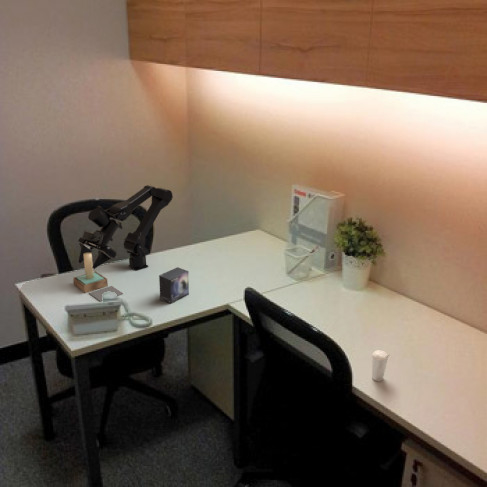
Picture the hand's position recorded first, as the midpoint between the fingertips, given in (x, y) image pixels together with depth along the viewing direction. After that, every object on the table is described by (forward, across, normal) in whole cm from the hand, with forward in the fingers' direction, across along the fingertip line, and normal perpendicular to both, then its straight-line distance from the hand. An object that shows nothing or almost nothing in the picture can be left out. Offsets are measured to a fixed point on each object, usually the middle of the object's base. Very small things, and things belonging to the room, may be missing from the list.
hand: (86, 265), depth 218 cm
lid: (+4, 0, +6) cm, 7 cm away
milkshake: (-6, +120, +19) cm, 122 cm away
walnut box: (+6, 0, +8) cm, 9 cm away
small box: (-5, +34, +18) cm, 39 cm away
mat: (+6, +11, +7) cm, 14 cm away
